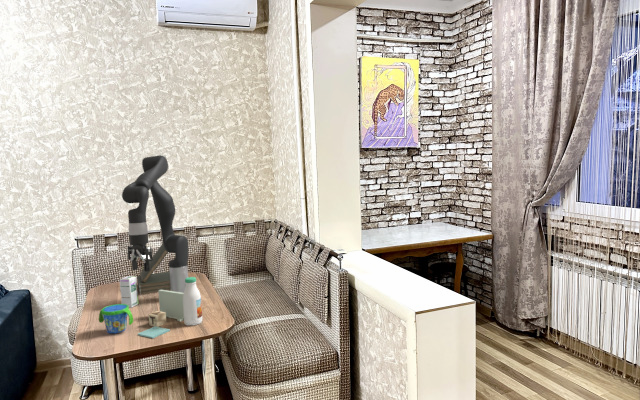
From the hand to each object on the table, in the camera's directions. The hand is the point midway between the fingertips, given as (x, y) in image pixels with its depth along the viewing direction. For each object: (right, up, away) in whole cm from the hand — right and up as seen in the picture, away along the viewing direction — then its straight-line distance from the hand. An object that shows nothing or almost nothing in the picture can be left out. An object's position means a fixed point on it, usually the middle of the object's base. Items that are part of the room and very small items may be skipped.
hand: (140, 270), depth 194 cm
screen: (+10, -23, +11) cm, 28 cm away
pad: (+8, -25, -7) cm, 27 cm away
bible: (-17, -21, +65) cm, 70 cm away
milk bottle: (+22, -24, +4) cm, 32 cm away
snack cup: (-9, -25, -3) cm, 27 cm away
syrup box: (-18, -23, +32) cm, 43 cm away
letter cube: (+6, -24, +4) cm, 25 cm away
